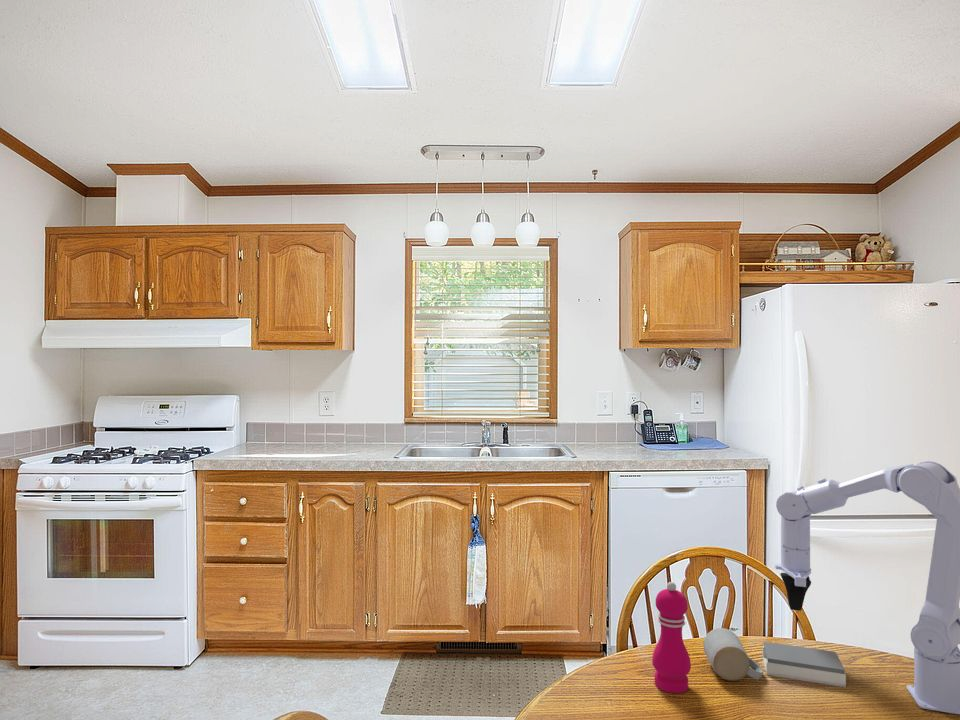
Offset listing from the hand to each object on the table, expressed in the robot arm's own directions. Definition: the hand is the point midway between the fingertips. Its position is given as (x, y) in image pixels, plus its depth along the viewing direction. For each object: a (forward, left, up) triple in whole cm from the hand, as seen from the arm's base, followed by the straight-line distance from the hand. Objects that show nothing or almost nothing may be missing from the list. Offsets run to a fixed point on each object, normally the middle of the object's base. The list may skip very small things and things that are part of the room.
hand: (795, 609), depth 133 cm
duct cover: (0, +9, -7) cm, 11 cm away
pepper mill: (+25, +24, -10) cm, 36 cm away
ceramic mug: (+13, +15, -10) cm, 22 cm away
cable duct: (0, +9, -9) cm, 13 cm away
